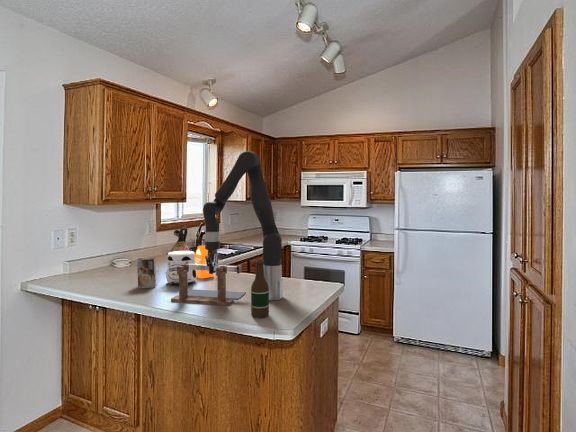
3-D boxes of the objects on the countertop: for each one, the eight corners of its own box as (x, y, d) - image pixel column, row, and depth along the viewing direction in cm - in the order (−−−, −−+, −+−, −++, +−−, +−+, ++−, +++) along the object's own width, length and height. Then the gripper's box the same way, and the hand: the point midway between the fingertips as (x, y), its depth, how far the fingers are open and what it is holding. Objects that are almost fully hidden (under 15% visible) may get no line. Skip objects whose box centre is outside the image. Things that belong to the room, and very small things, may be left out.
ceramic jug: (182, 274, 241) (182, 228, 239) (163, 272, 246) (162, 227, 244) (197, 269, 256) (197, 226, 255) (179, 267, 262) (179, 225, 260)
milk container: (170, 288, 205) (170, 256, 204) (163, 281, 219) (162, 252, 218) (200, 284, 214) (200, 253, 213) (191, 278, 229) (191, 249, 228)
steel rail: (241, 272, 190) (241, 265, 189) (239, 273, 186) (239, 266, 186) (186, 269, 195) (186, 262, 195) (183, 270, 192) (183, 263, 192)
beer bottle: (252, 312, 163) (252, 258, 162) (270, 313, 162) (270, 259, 161) (249, 318, 155) (249, 262, 154) (267, 318, 155) (267, 262, 153)
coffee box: (156, 284, 212) (155, 257, 211) (154, 287, 206) (154, 259, 205) (139, 285, 210) (139, 257, 209) (137, 288, 204) (136, 259, 203)
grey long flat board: (245, 293, 194) (245, 292, 194) (238, 299, 183) (238, 298, 183) (189, 290, 201) (189, 289, 201) (179, 296, 189) (179, 295, 189)
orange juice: (195, 276, 234) (194, 245, 233) (207, 274, 240) (207, 244, 239) (201, 278, 228) (201, 246, 227) (213, 276, 234) (213, 245, 233)
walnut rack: (233, 301, 179) (233, 266, 178) (229, 305, 173) (229, 268, 172) (177, 298, 185) (176, 263, 184) (170, 301, 179) (170, 266, 178)
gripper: (214, 242, 182) (214, 276, 183) (224, 238, 196) (224, 270, 197) (199, 241, 184) (199, 275, 185) (210, 238, 197) (210, 270, 198)
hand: (212, 273), depth 191 cm, fingers closed on steel rail, 2 cm apart
